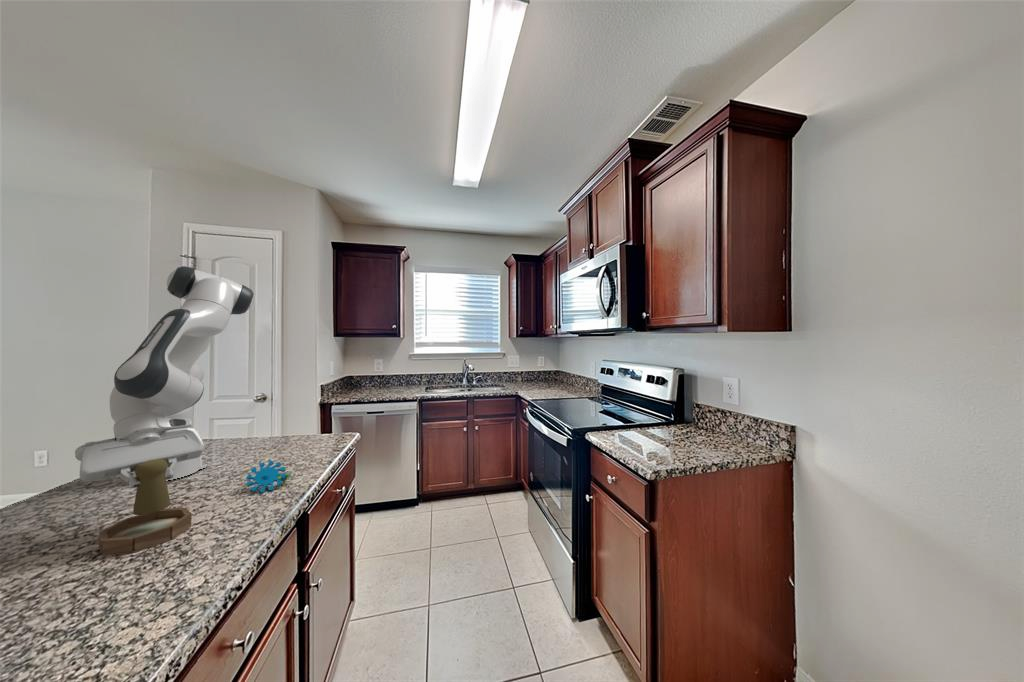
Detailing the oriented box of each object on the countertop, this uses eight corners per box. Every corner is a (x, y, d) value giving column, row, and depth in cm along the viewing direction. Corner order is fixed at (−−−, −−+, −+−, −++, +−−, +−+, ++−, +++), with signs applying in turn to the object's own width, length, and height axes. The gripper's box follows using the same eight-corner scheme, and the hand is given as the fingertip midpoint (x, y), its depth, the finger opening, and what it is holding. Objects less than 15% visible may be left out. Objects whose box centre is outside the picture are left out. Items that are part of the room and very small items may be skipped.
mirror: (97, 539, 77) (97, 526, 77) (182, 514, 88) (182, 503, 88) (103, 562, 69) (103, 547, 69) (195, 531, 80) (195, 519, 80)
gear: (240, 491, 98) (252, 459, 105) (242, 500, 102) (253, 468, 109) (285, 490, 103) (293, 459, 110) (285, 498, 106) (294, 468, 113)
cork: (170, 499, 83) (169, 454, 83) (171, 507, 79) (170, 460, 79) (133, 509, 79) (132, 461, 79) (132, 517, 75) (131, 467, 75)
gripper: (75, 436, 74) (81, 491, 69) (198, 418, 91) (211, 461, 86) (73, 453, 77) (78, 507, 71) (193, 432, 94) (206, 475, 88)
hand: (152, 482), depth 79 cm, fingers closed on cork, 4 cm apart
